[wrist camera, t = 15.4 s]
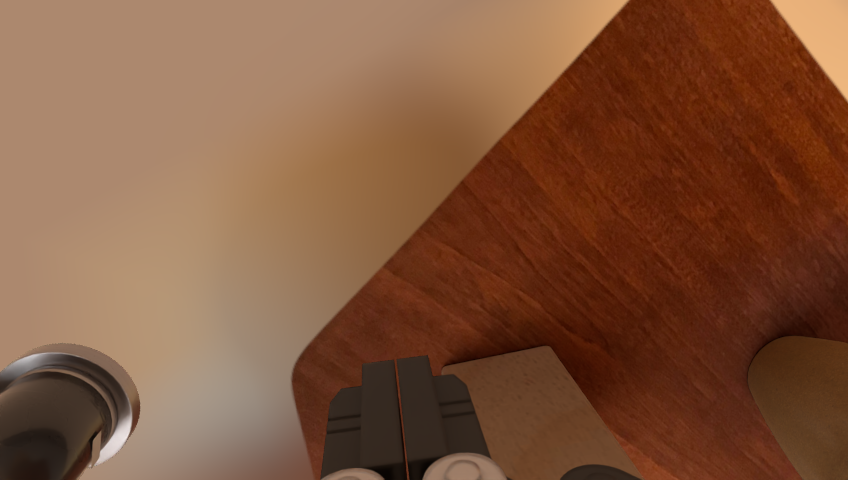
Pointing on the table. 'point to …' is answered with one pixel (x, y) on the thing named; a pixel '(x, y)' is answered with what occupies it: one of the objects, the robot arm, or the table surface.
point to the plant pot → (805, 402)
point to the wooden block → (537, 416)
